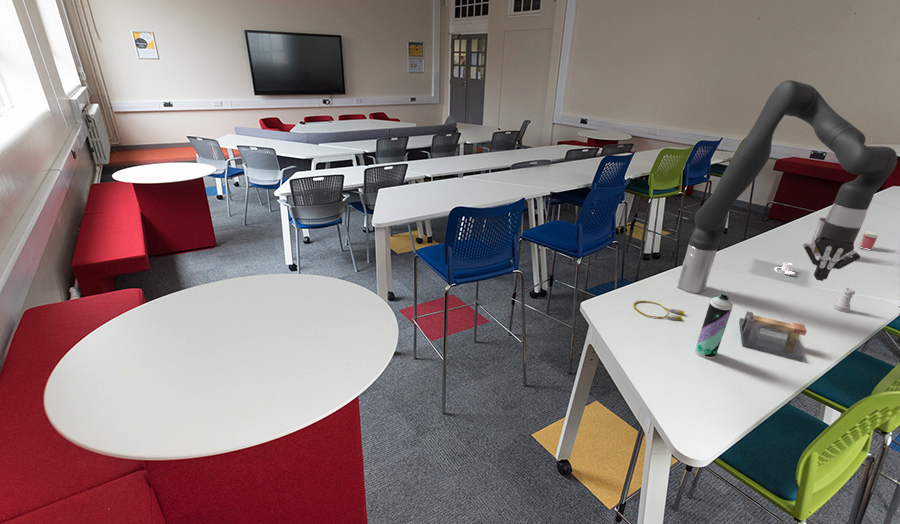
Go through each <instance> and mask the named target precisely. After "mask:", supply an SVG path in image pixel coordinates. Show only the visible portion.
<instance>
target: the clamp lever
mask: <svg viewBox="0 0 900 524" xmlns="http://www.w3.org/2000/svg"><path fill="white" fill-rule="evenodd" d="M745 315H746V314H745ZM746 318H747V320H748V319H753V320H754V323H756V324H760V325H765V326H769V327H773V328H777V329H782V330H786V331H790V332H793V333H795V334H800V335H799V336H804V337H806V334H807V332H808V331H807V328H806V325H805V324H802V323H799V322H798V323H797V322H792V323H790V322H786V321H780V320H776V319H772V318H767V317H763V316H758V315H755V314H753V315H752V314H751V313H748V314H747V315H746Z"/></svg>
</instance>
